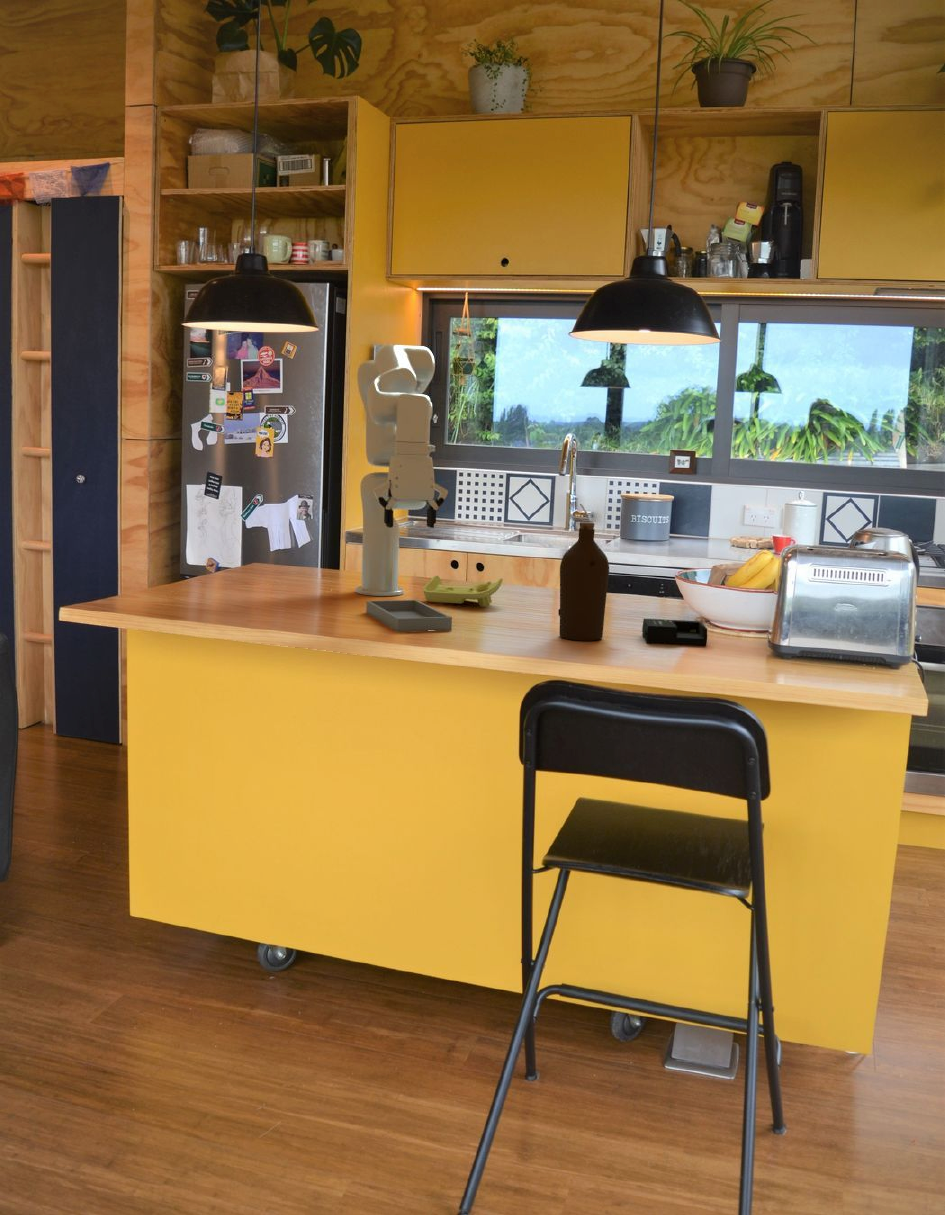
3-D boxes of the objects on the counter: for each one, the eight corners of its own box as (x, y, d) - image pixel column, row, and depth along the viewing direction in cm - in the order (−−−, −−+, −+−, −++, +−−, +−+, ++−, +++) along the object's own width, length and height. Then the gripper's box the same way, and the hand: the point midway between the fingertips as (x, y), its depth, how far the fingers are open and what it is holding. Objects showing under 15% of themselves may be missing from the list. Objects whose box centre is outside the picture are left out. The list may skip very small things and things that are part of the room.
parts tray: (366, 613, 267) (366, 600, 267) (416, 612, 272) (416, 599, 271) (397, 632, 245) (397, 618, 244) (451, 630, 249) (451, 617, 249)
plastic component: (419, 591, 286) (438, 571, 293) (426, 616, 289) (445, 596, 297) (487, 595, 276) (505, 574, 283) (494, 620, 279) (511, 599, 287)
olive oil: (615, 638, 248) (622, 524, 244) (583, 643, 241) (589, 525, 237) (578, 630, 255) (584, 519, 251) (546, 635, 248) (552, 521, 244)
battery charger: (646, 644, 245) (647, 625, 244) (641, 635, 254) (642, 618, 253) (706, 647, 244) (708, 628, 244) (699, 638, 254) (701, 621, 253)
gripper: (443, 450, 259) (440, 525, 262) (370, 448, 252) (368, 525, 255) (454, 452, 252) (451, 528, 255) (379, 449, 246) (377, 528, 248)
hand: (409, 527), depth 255 cm, fingers open, 9 cm apart
